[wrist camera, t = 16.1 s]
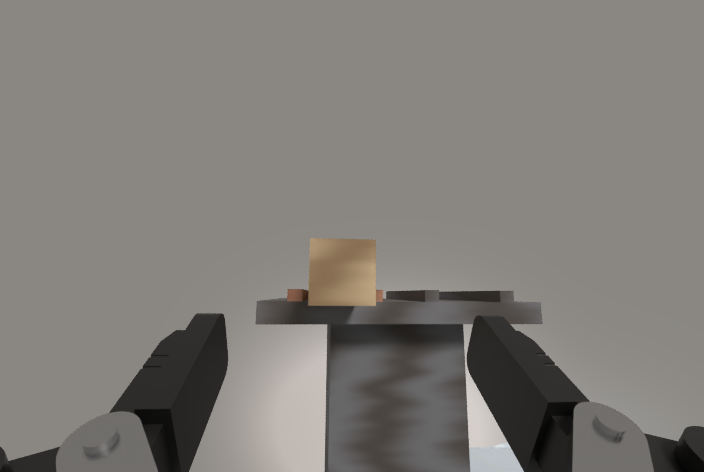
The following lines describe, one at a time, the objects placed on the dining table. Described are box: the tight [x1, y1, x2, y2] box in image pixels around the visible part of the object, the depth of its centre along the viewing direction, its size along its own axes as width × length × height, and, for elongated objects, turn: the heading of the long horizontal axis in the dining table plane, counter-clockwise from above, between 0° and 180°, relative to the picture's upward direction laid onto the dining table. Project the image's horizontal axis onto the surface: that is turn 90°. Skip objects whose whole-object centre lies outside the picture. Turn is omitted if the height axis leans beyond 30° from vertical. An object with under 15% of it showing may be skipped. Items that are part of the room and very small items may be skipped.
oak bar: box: [308, 238, 376, 306], centre depth 26 cm, size 3×22×3 cm, turn 5°
